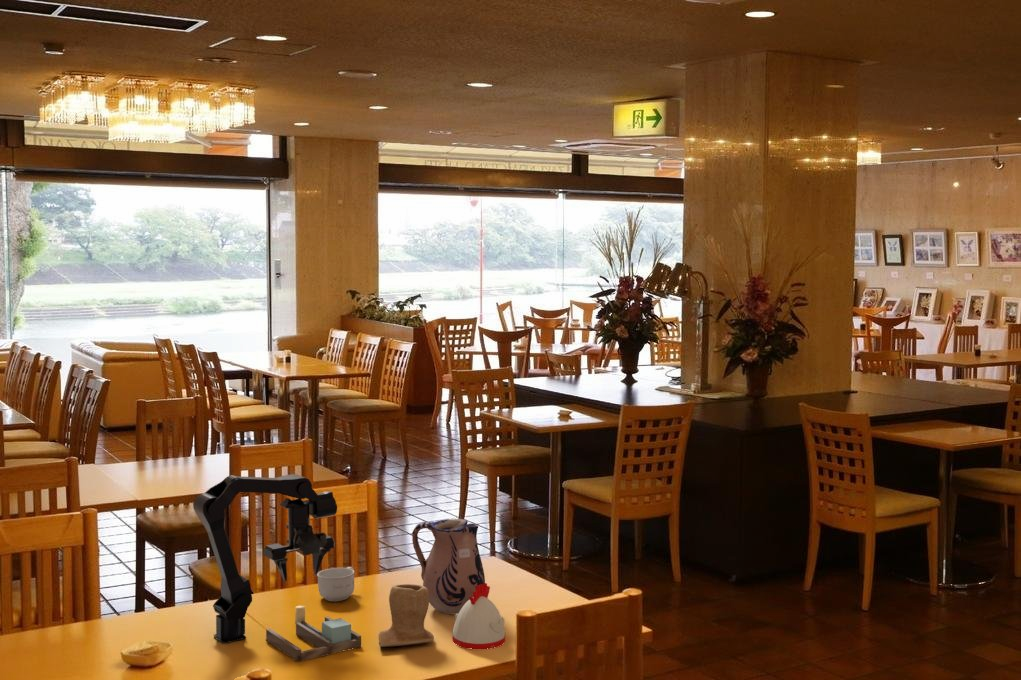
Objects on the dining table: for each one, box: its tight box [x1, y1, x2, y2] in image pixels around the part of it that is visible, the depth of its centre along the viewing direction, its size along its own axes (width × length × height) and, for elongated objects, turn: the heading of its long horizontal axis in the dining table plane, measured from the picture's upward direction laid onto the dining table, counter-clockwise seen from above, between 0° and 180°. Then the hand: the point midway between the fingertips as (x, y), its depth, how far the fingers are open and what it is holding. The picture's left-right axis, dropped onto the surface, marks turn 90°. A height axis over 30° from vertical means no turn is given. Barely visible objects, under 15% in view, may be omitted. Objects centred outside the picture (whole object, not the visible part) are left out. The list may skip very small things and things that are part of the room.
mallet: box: [294, 605, 352, 644], centre depth 295 cm, size 6×25×6 cm, turn 37°
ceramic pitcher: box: [411, 518, 486, 615], centre depth 316 cm, size 18×21×25 cm
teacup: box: [316, 566, 355, 602], centre depth 326 cm, size 14×11×8 cm
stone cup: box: [378, 583, 435, 648], centre depth 290 cm, size 15×12×15 cm
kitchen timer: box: [452, 582, 506, 650], centre depth 293 cm, size 14×14×15 cm
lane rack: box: [265, 616, 362, 663], centre depth 288 cm, size 18×18×3 cm
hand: (300, 577), depth 303 cm, fingers open, 9 cm apart
